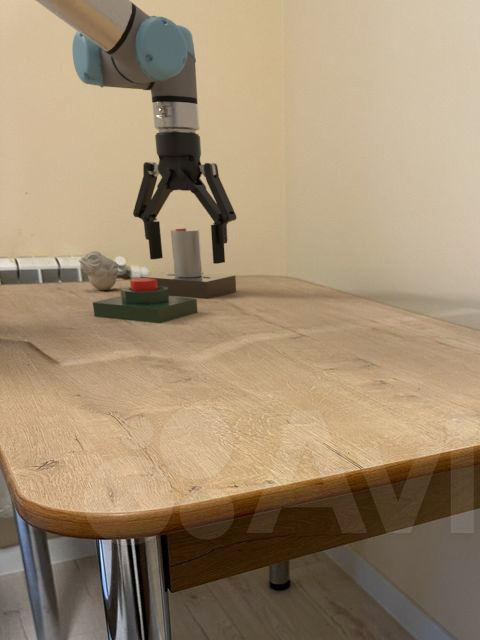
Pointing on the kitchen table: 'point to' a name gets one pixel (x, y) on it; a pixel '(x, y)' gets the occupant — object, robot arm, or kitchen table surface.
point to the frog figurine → (99, 270)
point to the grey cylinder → (186, 252)
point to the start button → (144, 284)
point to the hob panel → (196, 284)
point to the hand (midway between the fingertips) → (187, 261)
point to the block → (145, 306)
